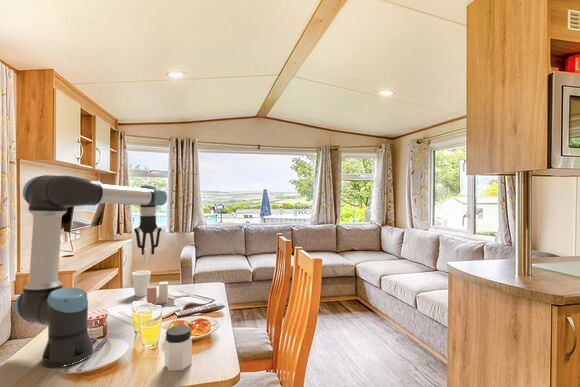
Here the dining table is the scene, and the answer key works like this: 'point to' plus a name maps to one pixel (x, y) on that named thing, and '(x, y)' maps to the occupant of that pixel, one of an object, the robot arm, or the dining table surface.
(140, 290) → the foam cup
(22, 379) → the dining table surface
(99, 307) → the dining table surface
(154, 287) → the brick pillar
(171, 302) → the mat
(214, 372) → the dining table surface
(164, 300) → the cream pillar
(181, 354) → the jar
